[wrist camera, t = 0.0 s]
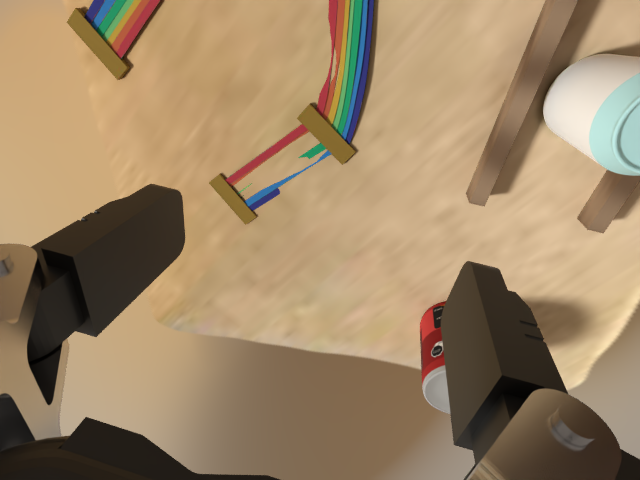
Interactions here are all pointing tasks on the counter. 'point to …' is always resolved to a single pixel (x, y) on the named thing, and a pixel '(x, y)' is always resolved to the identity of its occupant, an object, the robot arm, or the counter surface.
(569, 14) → the channel
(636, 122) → the can
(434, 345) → the canned food
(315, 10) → the counter surface
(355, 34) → the ribbon cable
